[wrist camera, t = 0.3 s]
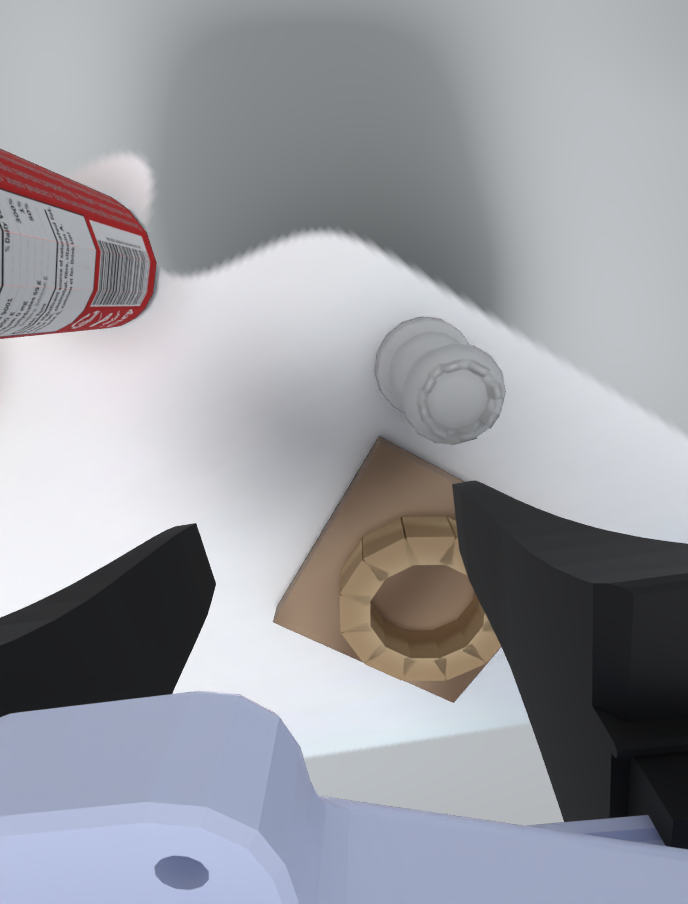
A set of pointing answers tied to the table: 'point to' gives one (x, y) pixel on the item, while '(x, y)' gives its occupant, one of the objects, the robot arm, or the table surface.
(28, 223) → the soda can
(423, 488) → the tan flat square plate
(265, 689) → the table surface
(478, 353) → the rook chess piece
